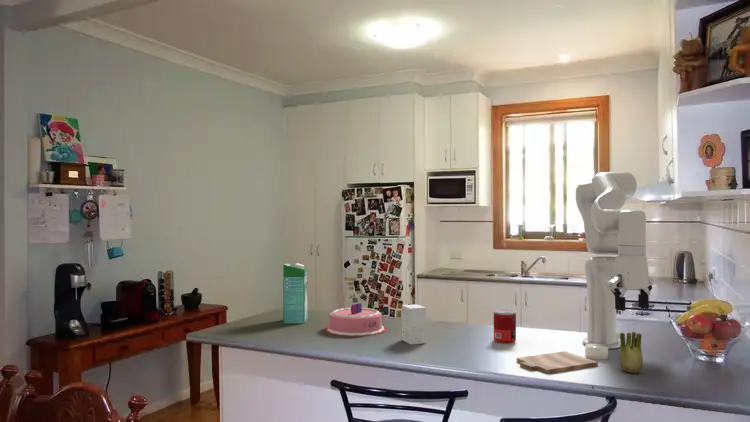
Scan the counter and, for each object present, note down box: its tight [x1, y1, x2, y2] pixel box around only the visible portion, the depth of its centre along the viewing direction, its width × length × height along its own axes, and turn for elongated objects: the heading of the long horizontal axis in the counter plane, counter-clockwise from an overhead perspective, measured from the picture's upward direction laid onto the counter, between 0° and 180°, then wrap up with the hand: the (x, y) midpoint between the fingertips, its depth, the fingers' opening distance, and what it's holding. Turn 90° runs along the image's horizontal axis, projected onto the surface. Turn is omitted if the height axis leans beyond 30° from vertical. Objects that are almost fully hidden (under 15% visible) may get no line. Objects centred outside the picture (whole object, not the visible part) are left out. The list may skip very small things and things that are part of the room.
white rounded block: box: [584, 344, 609, 361], centre depth 181 cm, size 7×7×4 cm
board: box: [516, 351, 599, 375], centre depth 172 cm, size 22×14×1 cm, turn 115°
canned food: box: [493, 309, 517, 344], centre depth 203 cm, size 8×8×11 cm
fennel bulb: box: [619, 331, 644, 374], centre depth 164 cm, size 6×5×12 cm
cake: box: [324, 302, 388, 338], centre depth 222 cm, size 25×25×11 cm
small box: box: [401, 303, 427, 345], centre depth 202 cm, size 8×6×13 cm
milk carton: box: [282, 262, 308, 324], centre depth 238 cm, size 9×9×25 cm
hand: (631, 309), depth 164 cm, fingers open, 9 cm apart
